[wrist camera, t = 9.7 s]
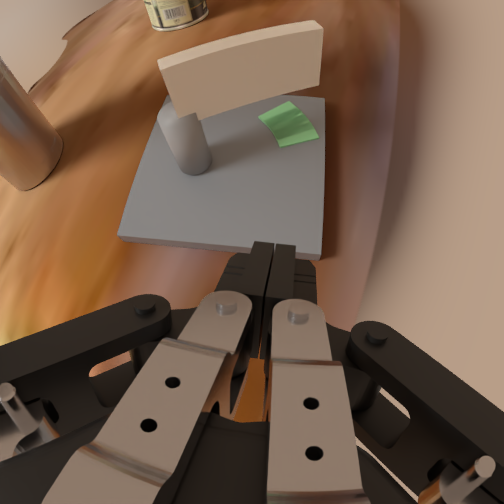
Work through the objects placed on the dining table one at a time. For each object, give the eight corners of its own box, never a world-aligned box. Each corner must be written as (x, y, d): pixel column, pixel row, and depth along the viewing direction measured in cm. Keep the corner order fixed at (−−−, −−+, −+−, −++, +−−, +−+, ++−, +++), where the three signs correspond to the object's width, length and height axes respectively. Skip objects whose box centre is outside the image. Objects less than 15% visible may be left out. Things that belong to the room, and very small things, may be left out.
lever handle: (183, 180, 29) (139, 85, 18) (175, 155, 30) (134, 63, 19) (318, 133, 29) (329, 33, 18) (304, 112, 30) (308, 15, 19)
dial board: (123, 241, 29) (115, 234, 27) (170, 103, 35) (166, 94, 33) (319, 260, 27) (321, 253, 25) (323, 107, 33) (324, 97, 31)
